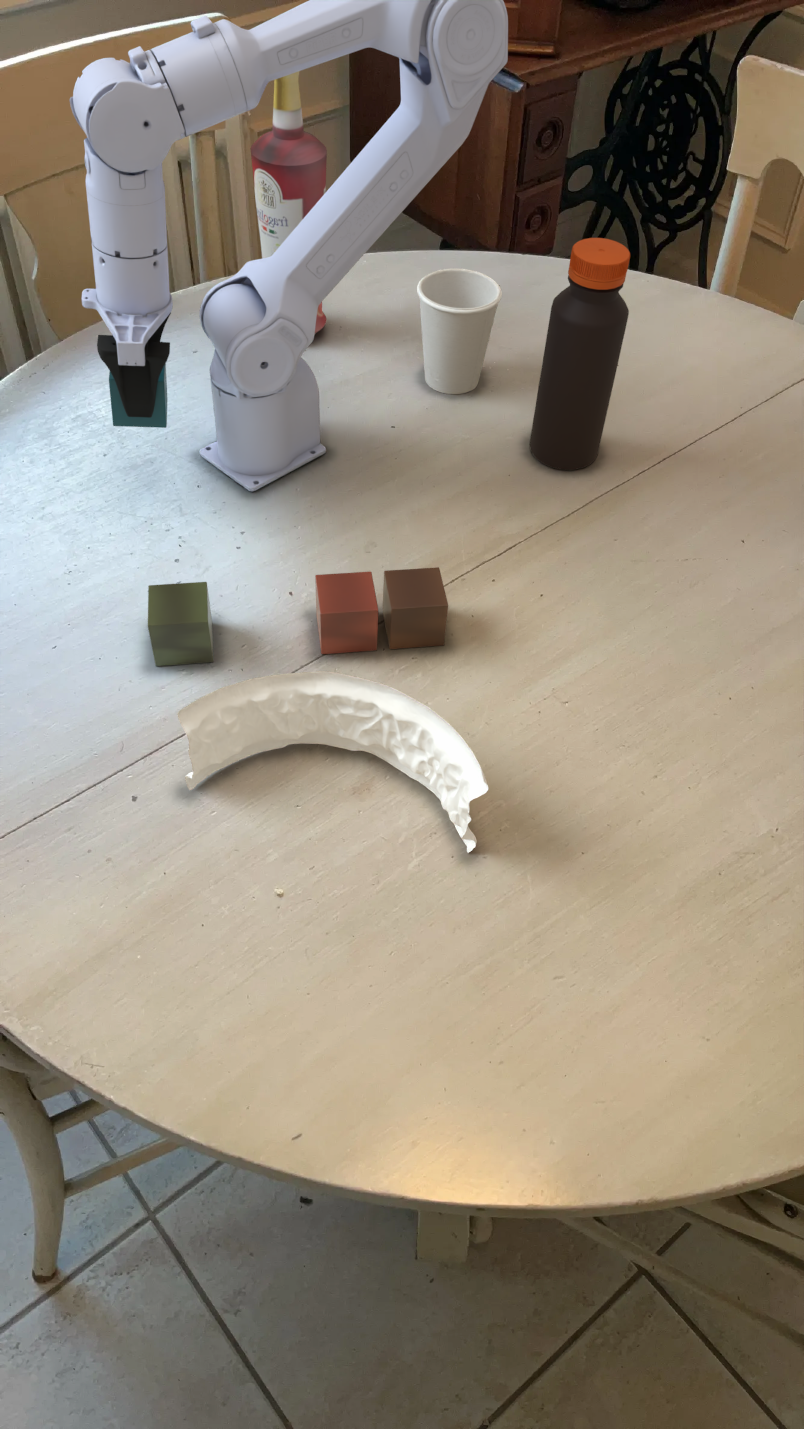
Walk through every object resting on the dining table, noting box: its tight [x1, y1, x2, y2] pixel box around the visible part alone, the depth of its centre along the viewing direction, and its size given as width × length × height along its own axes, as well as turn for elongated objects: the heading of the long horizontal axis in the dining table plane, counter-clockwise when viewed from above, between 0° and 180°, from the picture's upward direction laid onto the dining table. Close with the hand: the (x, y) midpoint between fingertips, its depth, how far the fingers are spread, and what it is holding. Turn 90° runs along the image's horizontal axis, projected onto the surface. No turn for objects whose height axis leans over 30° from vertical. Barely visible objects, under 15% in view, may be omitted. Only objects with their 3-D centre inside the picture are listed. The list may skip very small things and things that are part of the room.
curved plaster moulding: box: [176, 670, 489, 854], centre depth 72 cm, size 11×20×8 cm, turn 97°
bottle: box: [528, 237, 631, 471], centre depth 96 cm, size 7×7×20 cm
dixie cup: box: [416, 268, 503, 395], centre depth 107 cm, size 8×8×10 cm
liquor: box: [250, 71, 328, 334], centre depth 105 cm, size 7×7×28 cm
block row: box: [147, 566, 449, 667], centre depth 84 cm, size 23×4×4 cm, turn 98°
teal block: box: [108, 362, 168, 429], centre depth 91 cm, size 4×4×4 cm
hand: (140, 398), depth 91 cm, fingers closed on teal block, 4 cm apart
